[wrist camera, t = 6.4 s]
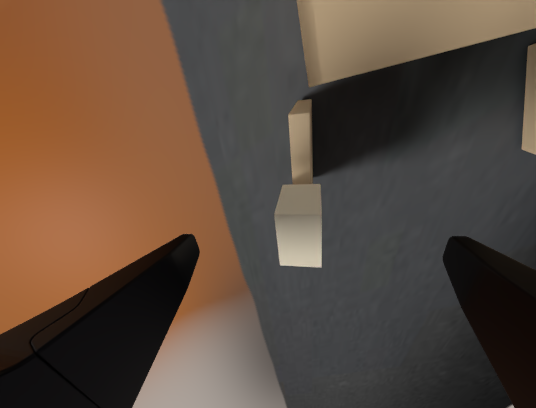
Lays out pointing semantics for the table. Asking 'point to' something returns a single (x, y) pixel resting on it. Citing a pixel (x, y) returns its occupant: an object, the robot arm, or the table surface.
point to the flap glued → (300, 197)
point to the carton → (399, 31)
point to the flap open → (530, 103)
